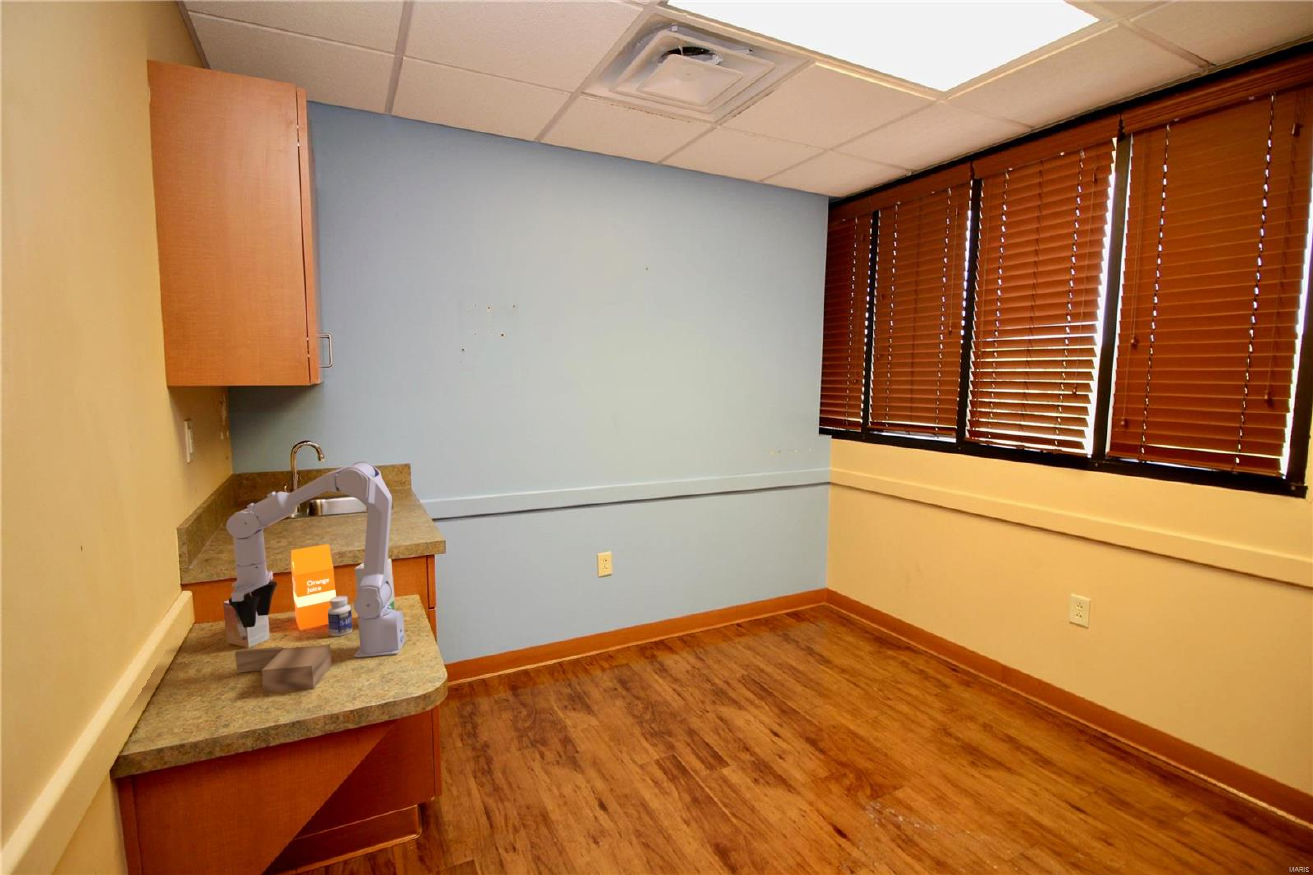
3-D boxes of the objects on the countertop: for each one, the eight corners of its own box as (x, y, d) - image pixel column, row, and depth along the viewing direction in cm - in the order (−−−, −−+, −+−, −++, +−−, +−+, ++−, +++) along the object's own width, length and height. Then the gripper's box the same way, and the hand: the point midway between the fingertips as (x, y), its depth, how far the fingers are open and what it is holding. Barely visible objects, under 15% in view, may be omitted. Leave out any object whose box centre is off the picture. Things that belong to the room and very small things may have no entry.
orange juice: (295, 620, 164) (289, 547, 162) (332, 612, 169) (326, 541, 167) (299, 630, 158) (293, 553, 155) (338, 621, 163) (332, 547, 161)
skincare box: (382, 627, 158) (378, 568, 157) (357, 627, 159) (352, 568, 157) (396, 614, 167) (392, 557, 165) (372, 614, 167) (368, 558, 165)
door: (286, 668, 137) (284, 648, 136) (236, 672, 135) (234, 652, 135) (288, 665, 138) (286, 645, 137) (239, 669, 136) (237, 649, 136)
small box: (226, 643, 151) (221, 602, 150) (248, 634, 156) (244, 594, 155) (248, 648, 148) (244, 606, 147) (270, 639, 153) (266, 597, 152)
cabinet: (331, 666, 138) (329, 644, 137) (313, 688, 128) (311, 665, 127) (285, 670, 136) (283, 648, 136) (263, 693, 126) (261, 670, 126)
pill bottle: (343, 637, 153) (340, 602, 152) (324, 636, 154) (321, 601, 153) (357, 628, 158) (354, 595, 157) (339, 627, 159) (336, 594, 158)
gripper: (247, 554, 145) (253, 610, 147) (213, 574, 131) (219, 635, 133) (280, 552, 146) (285, 607, 148) (249, 571, 132) (255, 632, 134)
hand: (256, 620), depth 140 cm, fingers open, 6 cm apart
